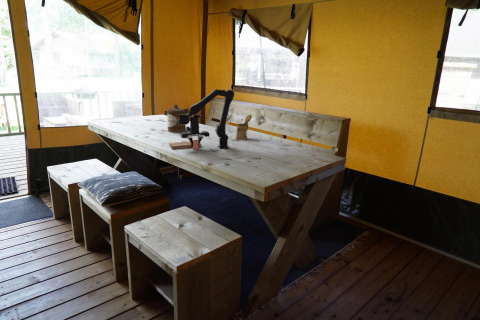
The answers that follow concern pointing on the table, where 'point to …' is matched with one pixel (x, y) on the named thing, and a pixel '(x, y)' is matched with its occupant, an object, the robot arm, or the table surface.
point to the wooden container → (175, 119)
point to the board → (181, 145)
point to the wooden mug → (243, 129)
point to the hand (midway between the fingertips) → (195, 147)
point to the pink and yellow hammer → (195, 144)
